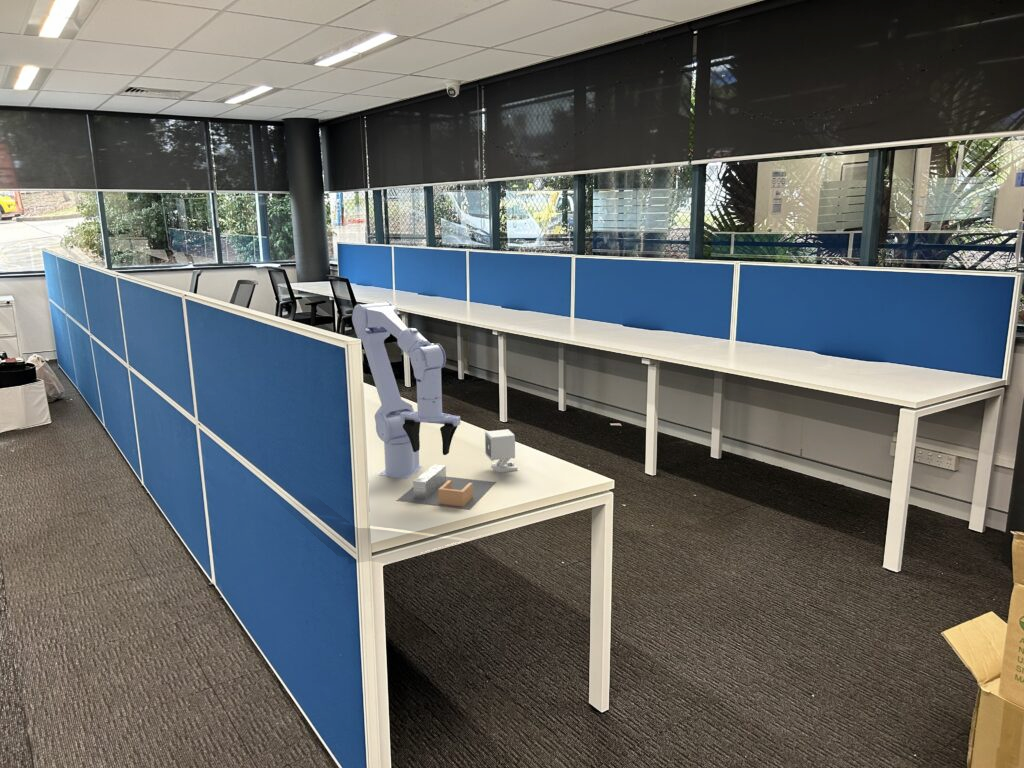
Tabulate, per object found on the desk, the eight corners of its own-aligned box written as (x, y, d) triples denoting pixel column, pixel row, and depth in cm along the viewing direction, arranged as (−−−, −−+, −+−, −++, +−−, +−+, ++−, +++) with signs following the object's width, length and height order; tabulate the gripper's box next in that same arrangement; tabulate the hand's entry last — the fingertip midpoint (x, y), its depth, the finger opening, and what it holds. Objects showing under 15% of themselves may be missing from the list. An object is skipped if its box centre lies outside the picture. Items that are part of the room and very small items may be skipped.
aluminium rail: (434, 479, 182) (434, 464, 181) (446, 481, 181) (445, 465, 180) (413, 497, 171) (413, 480, 170) (425, 498, 170) (425, 482, 169)
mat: (428, 476, 186) (428, 474, 186) (496, 484, 181) (496, 482, 181) (396, 502, 169) (396, 500, 169) (469, 511, 164) (469, 509, 164)
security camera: (485, 467, 192) (484, 430, 190) (510, 464, 195) (510, 428, 192) (491, 475, 187) (491, 437, 184) (518, 472, 189) (518, 435, 186)
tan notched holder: (448, 494, 173) (448, 480, 172) (472, 497, 171) (472, 483, 170) (438, 503, 167) (438, 489, 167) (463, 506, 166) (463, 491, 165)
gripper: (393, 398, 171) (395, 454, 174) (451, 403, 166) (453, 460, 169) (406, 391, 177) (408, 445, 180) (463, 395, 173) (464, 451, 176)
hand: (431, 452), depth 175 cm, fingers open, 7 cm apart
